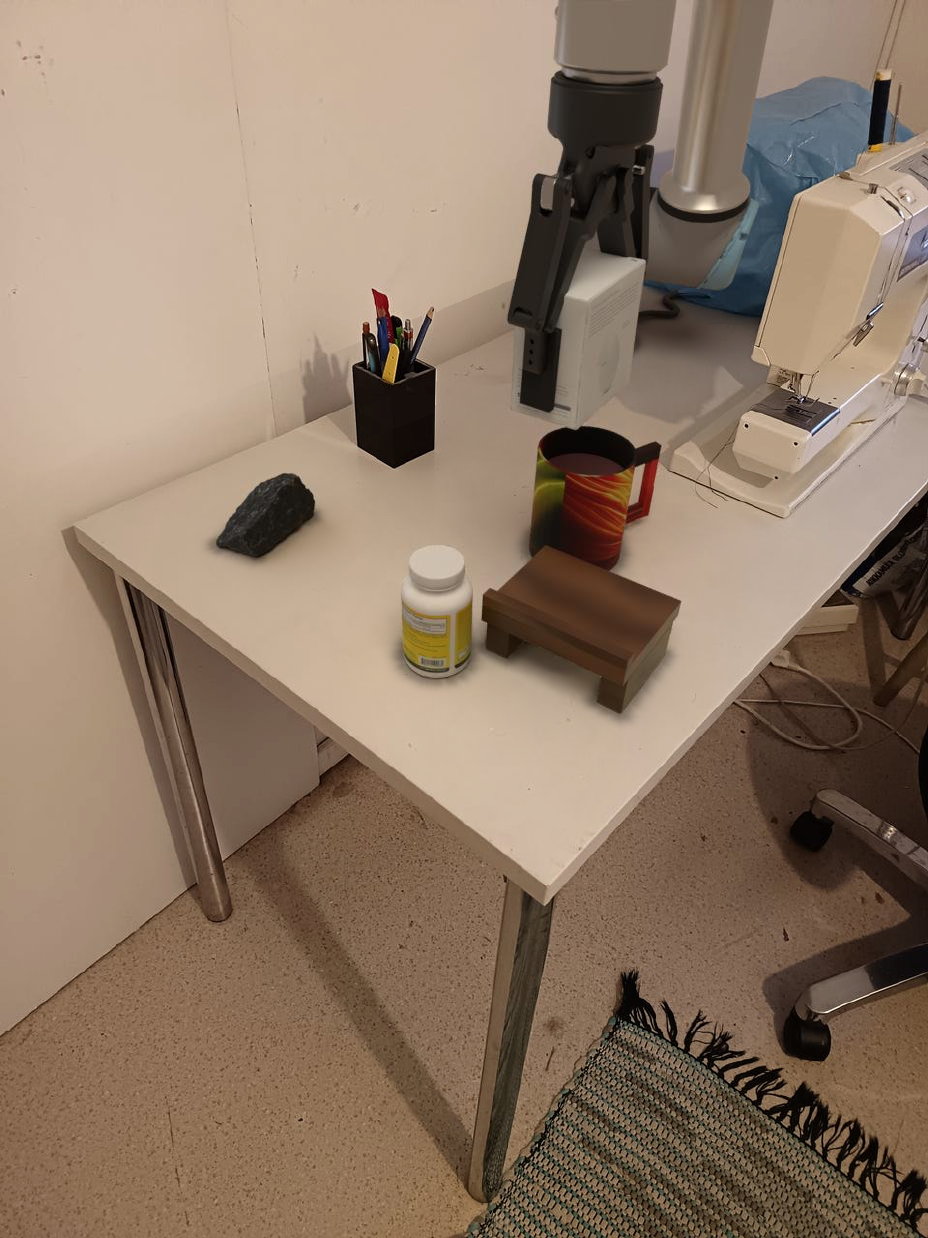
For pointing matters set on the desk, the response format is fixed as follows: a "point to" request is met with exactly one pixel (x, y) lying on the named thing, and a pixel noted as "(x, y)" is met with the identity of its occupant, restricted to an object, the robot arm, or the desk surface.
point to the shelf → (583, 621)
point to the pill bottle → (437, 612)
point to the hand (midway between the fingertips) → (572, 381)
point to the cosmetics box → (590, 338)
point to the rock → (268, 515)
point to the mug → (588, 492)
